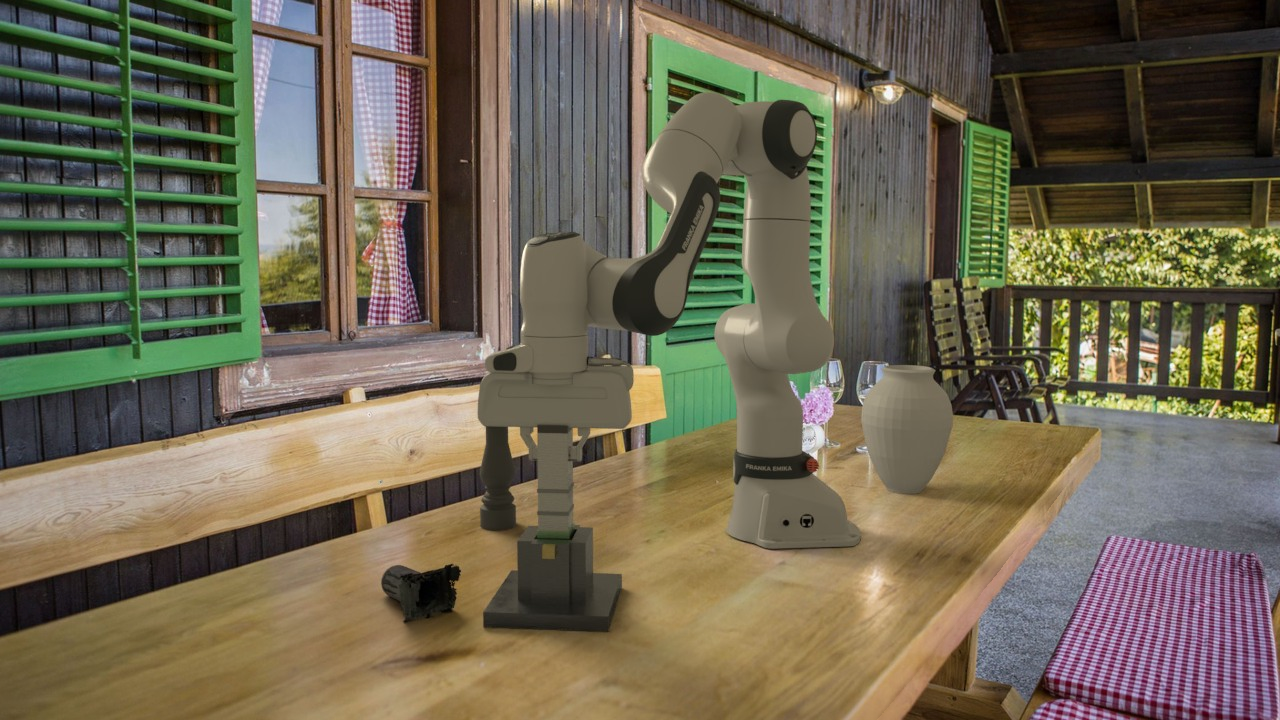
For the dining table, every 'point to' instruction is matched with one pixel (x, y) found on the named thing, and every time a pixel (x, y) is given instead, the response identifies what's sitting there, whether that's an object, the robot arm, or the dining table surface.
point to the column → (555, 483)
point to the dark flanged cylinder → (422, 590)
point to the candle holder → (497, 481)
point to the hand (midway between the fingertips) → (555, 460)
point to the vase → (906, 427)
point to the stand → (555, 587)
